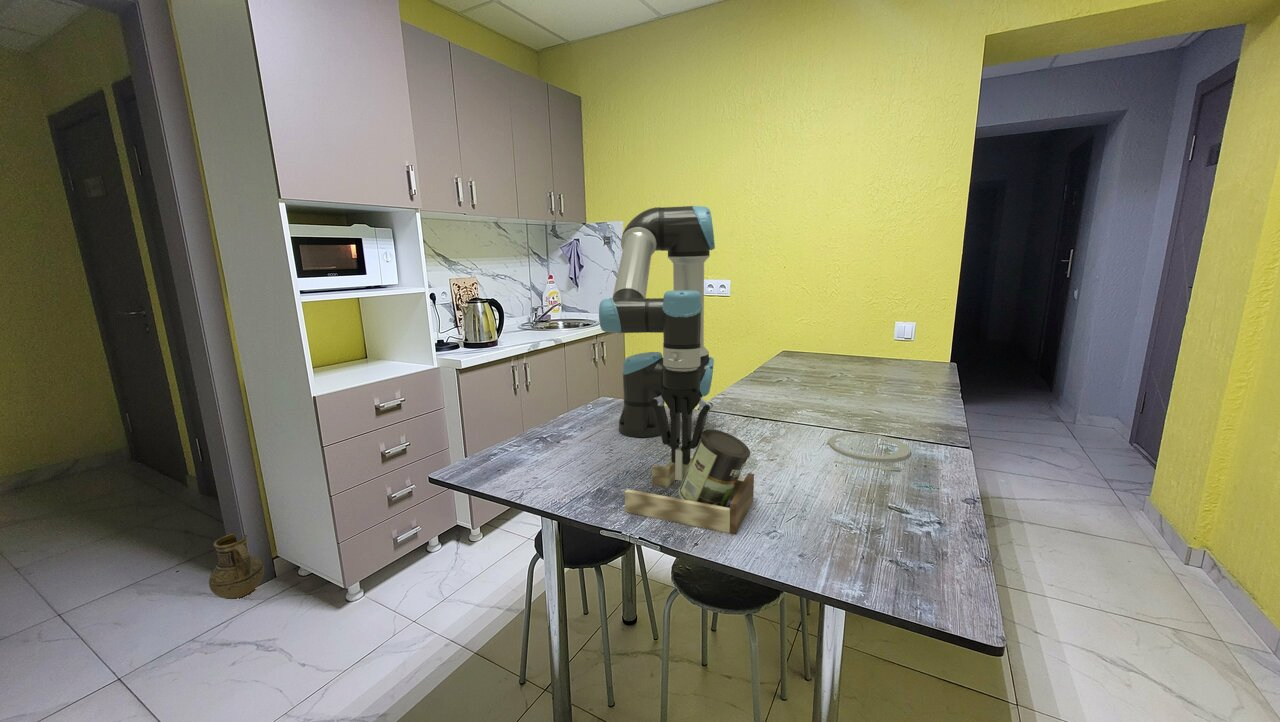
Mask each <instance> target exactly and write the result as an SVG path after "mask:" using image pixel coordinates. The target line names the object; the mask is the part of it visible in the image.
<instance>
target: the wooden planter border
mask: <svg viewBox="0 0 1280 722" xmlns="http://www.w3.org/2000/svg"><path fill="white" fill-rule="evenodd" d="M692 457H693V455H690V462H691V460H692ZM690 462H689V463H688V465H686V472H687V469H688V467H689V464H690ZM754 479H755V473H752V472H748V473H747V475H746V476H745V478H741V477H739V478H738V480H737V482H736V484H735V486H734V489H733V491H732V493H731V495H730V497H729V499H731V502H729V507H726V506H725V507H722V506H717V505H711V504H706V503H700V502H695V501H689V500H684V499H681V498H679V497H678V498H677V497H671V496H666V495H661V494H655V493H650V492H644V491H639V490H634V489H629V488H627V489H625V491H624V510H625V513H629V514H634V515H638V516H645V517H648V518H653V519H659V520H663V521H668V522H673V523H676V524H677V523H678V524H683V525H688V526H693V527H697V528H703V529H707V530H712V531H717V532H722V533H727V534H732V535H737V533H738V532H739V529H740V527H741V526H742V523H743V522H744V519H745V517H746V515H747V513H748V511H749V509H750V508H751V506H752V503H753V502H754V492H755V489H754V487H755V480H754ZM674 481H675V463H672V461H671V460H670V462H668V463H667V464H666V465H665V466H663V465H657V464H653V465H652V466H651V484H652V485H655V486H661V487H666V488H669V487H671V486H676V487H680V486H681V484H682V483H673V482H674Z"/></svg>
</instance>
